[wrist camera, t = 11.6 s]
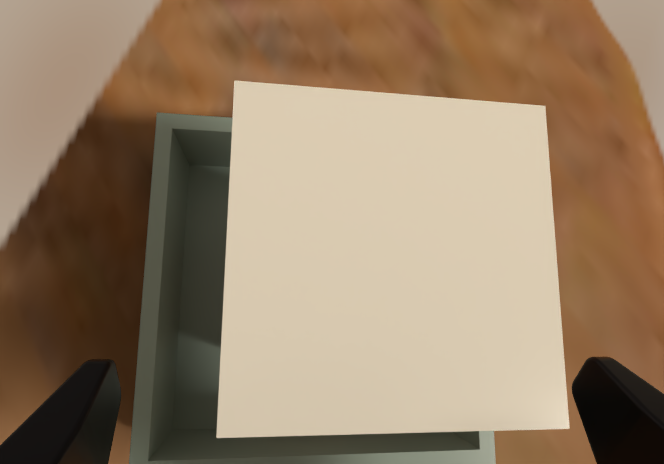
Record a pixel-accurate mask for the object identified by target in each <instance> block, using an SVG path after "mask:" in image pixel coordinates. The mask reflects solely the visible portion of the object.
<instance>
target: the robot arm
mask: <svg viewBox="0 0 664 464" xmlns="http://www.w3.org/2000/svg"><path fill="white" fill-rule="evenodd" d="M572 394H573V397H574V400H575V403H576V406H577V408H578V411H579V414H580V417H581V420H582V423H583V426H584V428H585V431H586V434H587V437H588V440H589V443H590V446H591V448H592V451H593V454H594V457H595V460H596V462H597V464H664V394H663V393H662V392H660V391H659V390H657V389H656V388H654V387H653V386H652V385H650V384H649V383H647V382H646V381H644V380H643V379H642V378H640V377H639V376H637V375H636V374H634V373H633V372H632V371H630V370H629V369H627V368H626V367H624V366H623V365H622V364H620V363H619V362H617V361H616V360H614V359H612V358H610V357H590V358H589V359H587V360H586V362H585V363H584V365H583V366H582V368H581V370H580V371H579V373H578V375H577V376H576V378H575V379H574V381H573V384H572ZM120 401H121V388H120V383H119V379H118V374H117V370H116V365H115V363H114V361H113V360H110V359H92V360H88V361H86V362H85V363H84V364H83V365H82V366H81V367H80V368H78V369H77V370H76V371H75V372H74V373H73V374H72V375H71V376H70V377H69V378H68V379H67V380H66V381H65V382H64V383H63V384H62V385H61V386H60V387H59V388H58V389H57V390H56V391H55V392H54V393H53V394H52V395H51V396H50V397H49V398H48V399H47V400H46V401H45V402H44V403H43V404H42V405H41V406H40V407H39V408H38V409H37V410H36V411H35V412H34V413H33V414H32V415H31V416H30V417H29V418H28V419H27V420H26V421H25V422H24V423H23V424H22V425H21V426H20V427H19V428H18V429H16V430H15V431H14V432H13V433H12V434H11V435H10V436H9V437H8V438H7V439H6V440H5V441H4V442H3V443H2V444H1V445H0V464H108V461H109V456H110V451H111V446H112V441H113V436H114V431H115V426H116V421H117V416H118V411H119V406H120Z"/></svg>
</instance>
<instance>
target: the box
mask: <svg viewBox="0 0 664 464" xmlns="http://www.w3.org/2000/svg"><path fill="white" fill-rule="evenodd" d="M232 120H233V118H227V117H213V116H198V115H184V114H169V113H157V118H156V131H155V143H154V156H153V168H152V181H151V194H150V206H149V219H148V231H147V244H146V257H145V269H144V282H143V294H142V307H141V320H140V332H139V345H138V357H137V370H136V382H135V395H134V408H133V420H132V433H131V445H130V458H129V464H496V463H495V443H494V431H464V432H426V433H389V434H351V435H313V436H276V437H238V438H216V434H217V415H218V395H219V375H220V356H221V336H222V317H223V297H224V277H225V258H226V238H227V218H228V199H229V179H230V160H231V140H232Z"/></svg>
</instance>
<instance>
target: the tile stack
mask: <svg viewBox="0 0 664 464" xmlns="http://www.w3.org/2000/svg"><path fill="white" fill-rule="evenodd" d="M539 429H569V417H568V403H567V390H566V377H565V363H564V350H563V337H562V324H561V310H560V297H559V284H558V270H557V257H556V244H555V231H554V217H553V204H552V191H551V177H550V164H549V151H548V138H547V124H546V111H545V106H539V105H527V104H515V103H502V102H490V101H478V100H466V99H453V98H441V97H429V96H417V95H404V94H392V93H380V92H368V91H355V90H343V89H331V88H318V87H306V86H294V85H282V84H269V83H257V82H245V81H234V101H233V120H232V140H231V160H230V179H229V199H228V218H227V238H226V258H225V277H224V297H223V317H222V336H221V356H220V375H219V395H218V415H217V434H216V438H238V437H276V436H313V435H351V434H389V433H426V432H464V431H501V430H539Z"/></svg>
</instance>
